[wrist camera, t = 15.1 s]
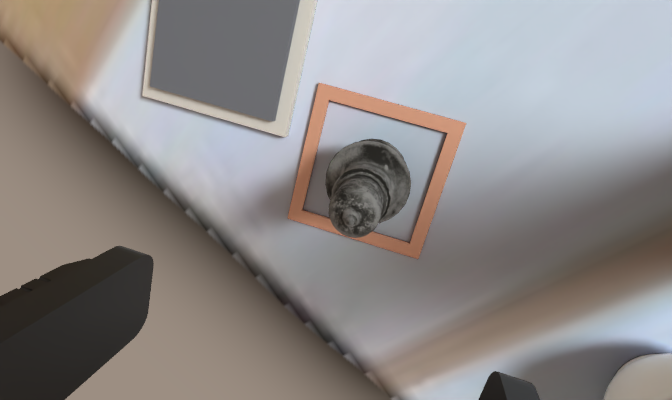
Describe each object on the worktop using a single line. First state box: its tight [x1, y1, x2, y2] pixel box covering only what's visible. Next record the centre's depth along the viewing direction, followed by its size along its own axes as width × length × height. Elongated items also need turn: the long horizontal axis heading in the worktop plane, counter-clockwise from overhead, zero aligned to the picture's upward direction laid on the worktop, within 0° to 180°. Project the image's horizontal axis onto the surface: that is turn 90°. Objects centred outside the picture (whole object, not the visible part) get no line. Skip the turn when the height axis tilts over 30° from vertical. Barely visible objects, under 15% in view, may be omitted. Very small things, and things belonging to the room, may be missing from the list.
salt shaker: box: [326, 139, 411, 238], centre depth 25 cm, size 6×6×12 cm
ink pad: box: [142, 0, 318, 137], centre depth 30 cm, size 12×12×2 cm
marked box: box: [288, 83, 466, 259], centre depth 31 cm, size 11×11×1 cm
